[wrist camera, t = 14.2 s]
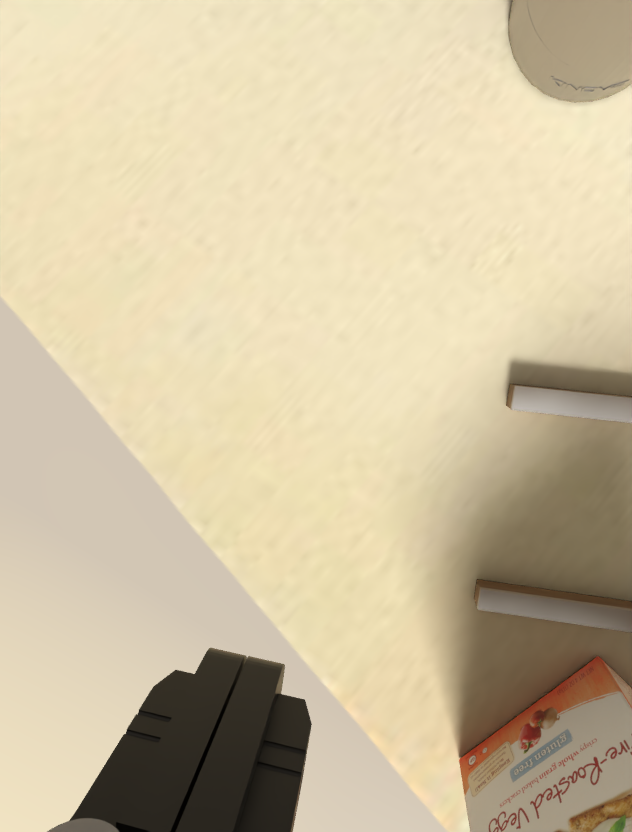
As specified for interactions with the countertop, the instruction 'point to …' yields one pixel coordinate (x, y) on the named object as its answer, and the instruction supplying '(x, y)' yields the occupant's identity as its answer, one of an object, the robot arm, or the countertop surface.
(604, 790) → the cracker box
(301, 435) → the countertop surface
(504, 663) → the countertop surface
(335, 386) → the countertop surface
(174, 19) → the countertop surface
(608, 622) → the pair of parallel rails
